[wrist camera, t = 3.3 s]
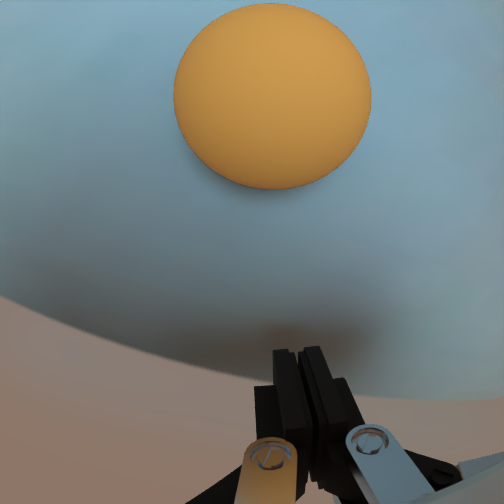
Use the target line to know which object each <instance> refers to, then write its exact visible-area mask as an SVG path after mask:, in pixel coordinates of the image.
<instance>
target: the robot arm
mask: <svg viewBox="0 0 504 504" xmlns="http://www.w3.org/2000/svg"><path fill="white" fill-rule="evenodd" d="M254 395H255V415H256V433H257V440H256V441H255V442H253V443H251V444H250V445H249V446H248V447H247V449H246V451H245V454H244V459H243V463H242V465H241V466H240V467H238V468H237V469H235V470H234V471H233V472H231V473H230V474H229V475H227V476H226V477H224V478H223V479H222V480H220V481H219V482H217V483H216V484H214V485H213V486H211V487H210V488H209V489H207V490H205V491H204V492H202V493H201V494H199V495H198V496H196V497H195V498H193V499H192V500H190V501H189V502H187V503H185V504H295V502H296V501H297V500H298V499H299V498H300V497H301V496H302V495H303V494H304V493H305V485H306V483H307V479H308V472H309V473H310V478H311V481H312V482H316V481H317V483H318V488H319V489H323V488H324V490H325V491H327V492H329V493H332V494H333V500H334V502H335V504H504V452H500V453H497V454H493V455H489V456H485V457H481V458H477V459H472V460H468V461H463V462H459V463H458V464H457V465H456V466H454V465H452V464H450V463H447V462H444V461H440V460H437V459H433V458H430V457H427V456H424V455H420V454H417V453H414V452H411V451H408V450H405V449H403V448H402V447H401V445H400V444H399V443H398V441H397V440H396V439H395V437H394V436H393V435H392V434H391V432H390V431H388V429H386V428H384V427H382V426H379V425H375V424H365V422H364V420H363V418H362V415H361V413H360V411H359V409H358V407H357V404H356V402H355V400H354V398H353V395H352V393H351V391H350V389H349V387H348V384H347V382H346V380H345V379H344V378H336V379H333V378H332V375H331V373H330V371H329V368H328V366H327V363H326V361H325V358H324V356H323V353H322V351H321V349H320V347H319V346H313V347H304V349H303V351H302V352H298V364H297V361H296V357H295V353H294V352H291V353H289V350H288V349H279V350H273V385H268V386H255V387H254Z"/></svg>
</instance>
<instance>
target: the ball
mask: <svg viewBox="0 0 504 504" xmlns="http://www.w3.org/2000/svg"><path fill="white" fill-rule="evenodd" d="M174 108H175V114H176V118H177V122H178V125H179V127H180V129H181V132H182V134H183V136H184V138H185V139H186V141H187V143H188V145H189V146H190V147H191V149H192V150H193V151H194V152H195V154H196V155H197V156H198V157H199V158H200V159H201V160H202V161H203V162H204V163H205V164H206V165H207V166H209V167H210V168H211V169H213V170H214V171H215V172H217V173H218V174H220V175H222V176H224V177H225V178H227V179H229V180H232V181H234V182H236V183H239V184H242V185H246V186H249V187H254V188H261V189H287V188H294V187H298V186H303V185H306V184H309V183H311V182H314V181H317V180H319V179H320V178H322V177H324V176H326V175H328V174H329V173H331V172H332V171H333V170H335V169H336V168H337V167H339V166H340V165H341V164H342V163H343V162H344V161H345V160H346V159H347V158H348V157H349V156H350V155H351V153H352V152H353V151H354V150H355V148H356V147H357V145H358V143H359V142H360V140H361V138H362V136H363V134H364V131H365V129H366V126H367V123H368V119H369V115H370V109H371V87H370V81H369V77H368V73H367V70H366V67H365V64H364V62H363V60H362V58H361V56H360V54H359V52H358V51H357V49H356V47H355V46H354V44H353V43H352V42H351V41H350V39H349V38H348V37H347V36H346V35H345V34H344V33H343V32H342V31H341V30H340V29H339V28H338V27H336V26H335V25H334V24H332V23H331V22H330V21H328V20H327V19H325V18H323V17H321V16H320V15H318V14H316V13H313V12H311V11H309V10H306V9H303V8H300V7H296V6H291V5H286V4H275V3H267V4H256V5H250V6H246V7H242V8H239V9H236V10H233V11H231V12H229V13H226V14H224V15H222V16H221V17H219V18H217V19H216V20H214V21H212V22H211V23H210V24H209V25H207V26H206V27H205V28H204V29H202V30H201V32H200V33H199V34H198V35H197V36H196V37H195V38H194V39H193V41H192V42H191V43H190V45H189V46H188V48H187V49H186V51H185V53H184V55H183V57H182V58H181V60H180V63H179V66H178V69H177V72H176V76H175V82H174Z"/></svg>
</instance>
